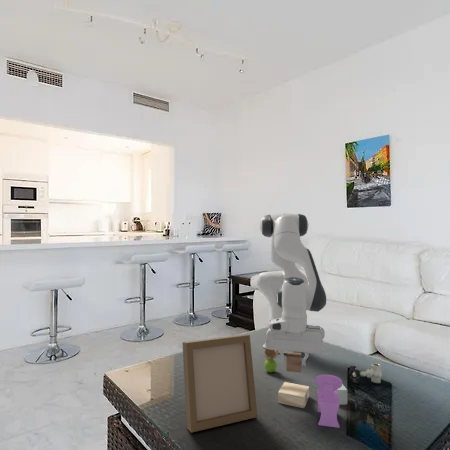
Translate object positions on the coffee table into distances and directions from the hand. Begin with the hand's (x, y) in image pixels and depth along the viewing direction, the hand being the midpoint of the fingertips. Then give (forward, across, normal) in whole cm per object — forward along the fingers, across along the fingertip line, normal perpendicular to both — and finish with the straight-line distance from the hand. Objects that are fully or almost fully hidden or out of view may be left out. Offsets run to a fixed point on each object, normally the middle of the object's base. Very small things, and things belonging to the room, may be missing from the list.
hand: (294, 363), depth 121 cm
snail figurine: (+13, +10, -22) cm, 27 cm away
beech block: (+13, 0, 0) cm, 13 cm away
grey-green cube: (+13, -15, -3) cm, 20 cm away
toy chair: (+13, -11, +10) cm, 20 cm away
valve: (+13, -28, -22) cm, 38 cm away
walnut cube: (+2, 0, 0) cm, 2 cm away
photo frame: (+13, +24, +17) cm, 32 cm away
